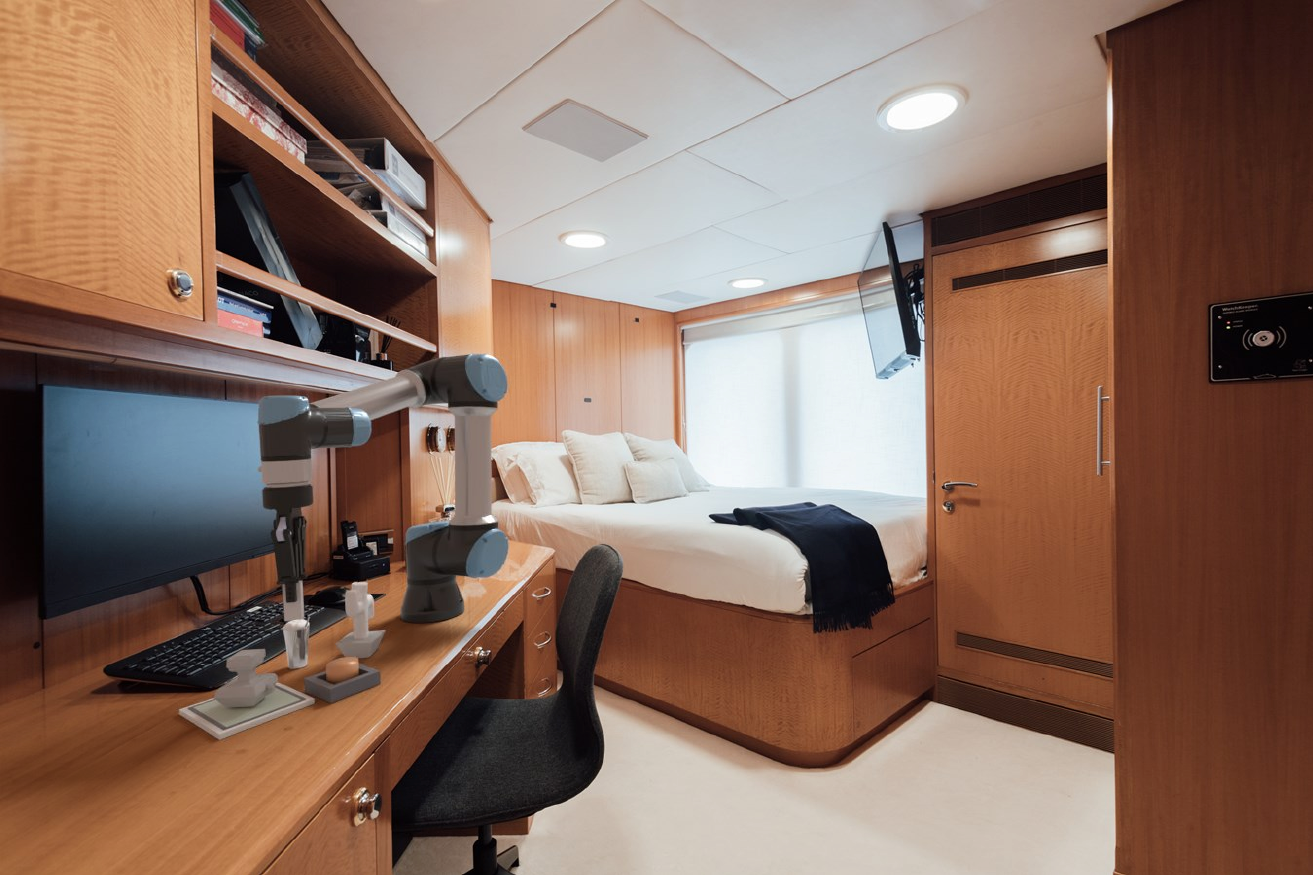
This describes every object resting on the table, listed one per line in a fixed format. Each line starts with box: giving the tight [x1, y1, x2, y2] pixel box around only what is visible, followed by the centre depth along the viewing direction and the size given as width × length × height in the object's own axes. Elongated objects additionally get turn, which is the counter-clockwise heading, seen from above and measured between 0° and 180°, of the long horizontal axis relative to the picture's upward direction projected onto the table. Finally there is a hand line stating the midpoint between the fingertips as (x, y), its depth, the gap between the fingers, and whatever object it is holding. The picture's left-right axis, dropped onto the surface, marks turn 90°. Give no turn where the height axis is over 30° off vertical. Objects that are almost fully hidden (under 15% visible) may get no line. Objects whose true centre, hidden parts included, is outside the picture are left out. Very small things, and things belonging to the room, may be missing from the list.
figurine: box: [335, 581, 387, 659], centre depth 125 cm, size 7×9×15 cm
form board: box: [178, 681, 316, 741], centre depth 101 cm, size 14×16×1 cm
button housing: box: [303, 662, 382, 704], centre depth 109 cm, size 9×9×2 cm
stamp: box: [213, 648, 279, 708], centre depth 101 cm, size 9×7×8 cm
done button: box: [325, 656, 359, 685], centre depth 109 cm, size 5×5×3 cm
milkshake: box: [282, 616, 311, 670], centre depth 119 cm, size 5×5×10 cm
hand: (294, 618), depth 105 cm, fingers closed
